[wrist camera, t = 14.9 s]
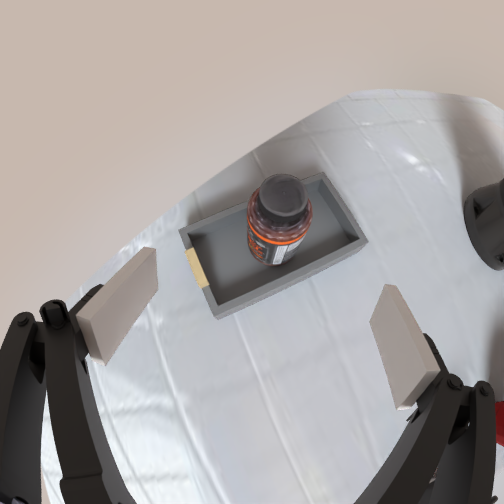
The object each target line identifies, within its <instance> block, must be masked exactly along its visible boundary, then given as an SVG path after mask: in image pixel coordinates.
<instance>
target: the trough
mask: <svg viewBox="0 0 504 504" xmlns="http://www.w3.org/2000/svg"><path fill="white" fill-rule="evenodd" d="M300 181H301V182H302V183H303V184H304V185H305V187H306V189H307V191H308V198H309V200H310V202H311V205H312V209H313V216H312V221H311V224H310V226H309V228H308V231H307V233H306V235H305V237H304V239H303V241H302V243H301V245H300V246H299V248H298V251H297V252H296V254H295V255H294V257H293V258H292V259H291V260H290V261H288V262H287V263H285V264H283V265H279V266H268V265H265V264H263V263H261V262H259V261H258V260H256V259H255V258H254V257H253V255H252V254H251V252H250V250H249V247H248V242H247V207H248V202H249V200H248V201H246V202H243V203H241V204H238V205H236V206H233V207H231V208H229V209H226V210H224V211H221V212H219V213H217V214H214V215H212V216H209V217H207V218H205V219H202V220H200V221H198V222H195V223H193V224H191V225H189V226H186V227H184V228H182V229H180V230H179V233H180V236H181V238H182V241H183V243H184V246H185V249H186V251H185V254H186V256H187V259H188V261H189V264H190V266H191V269H192V271H193V274H194V276H195V279H196V281H197V283H198V286H199V287H200V288H202V290H203V293H204V295H205V297H206V300H207V302H208V304H209V307H210V309H211V311H212V313H213V316H214V317H215V318H216V319H218V320H219V319H221V318H223V317H225V316H228V315H230V314H232V313H234V312H237V311H239V310H241V309H243V308H246V307H248V306H250V305H252V304H254V303H256V302H259V301H261V300H263V299H265V298H267V297H269V296H271V295H274V294H276V293H278V292H280V291H282V290H284V289H286V288H288V287H290V286H292V285H294V284H296V283H298V282H301V281H303V280H305V279H307V278H309V277H311V276H313V275H315V274H317V273H319V272H321V271H323V270H325V269H327V268H329V267H330V266H332V265H334V264H336V263H338V262H340V261H342V260H344V259H346V258H348V257H350V256H352V255H354V254H356V253H357V252H359V251H360V250H361V249H362V248H363V247H364V246H365V245H366V244H367V243H368V240H367V238H366V236H365V235H364V233H363V231H362V230H361V228H360V227H359V225H358V223H357V222H356V220H355V219H354V217H353V215H352V214H351V212H350V211H349V209H348V208H347V206H346V204H345V203H344V201H343V200H342V198H341V197H340V195H339V194H338V192H337V191H336V189H335V188H334V186H333V185H332V184H331V182H330V181H329V179H328V178H327V176H326V175H325V173H324V172H322V173H320V174H317V175H314V176H311V177H308V178H306V179H303V180H300Z"/></svg>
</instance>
